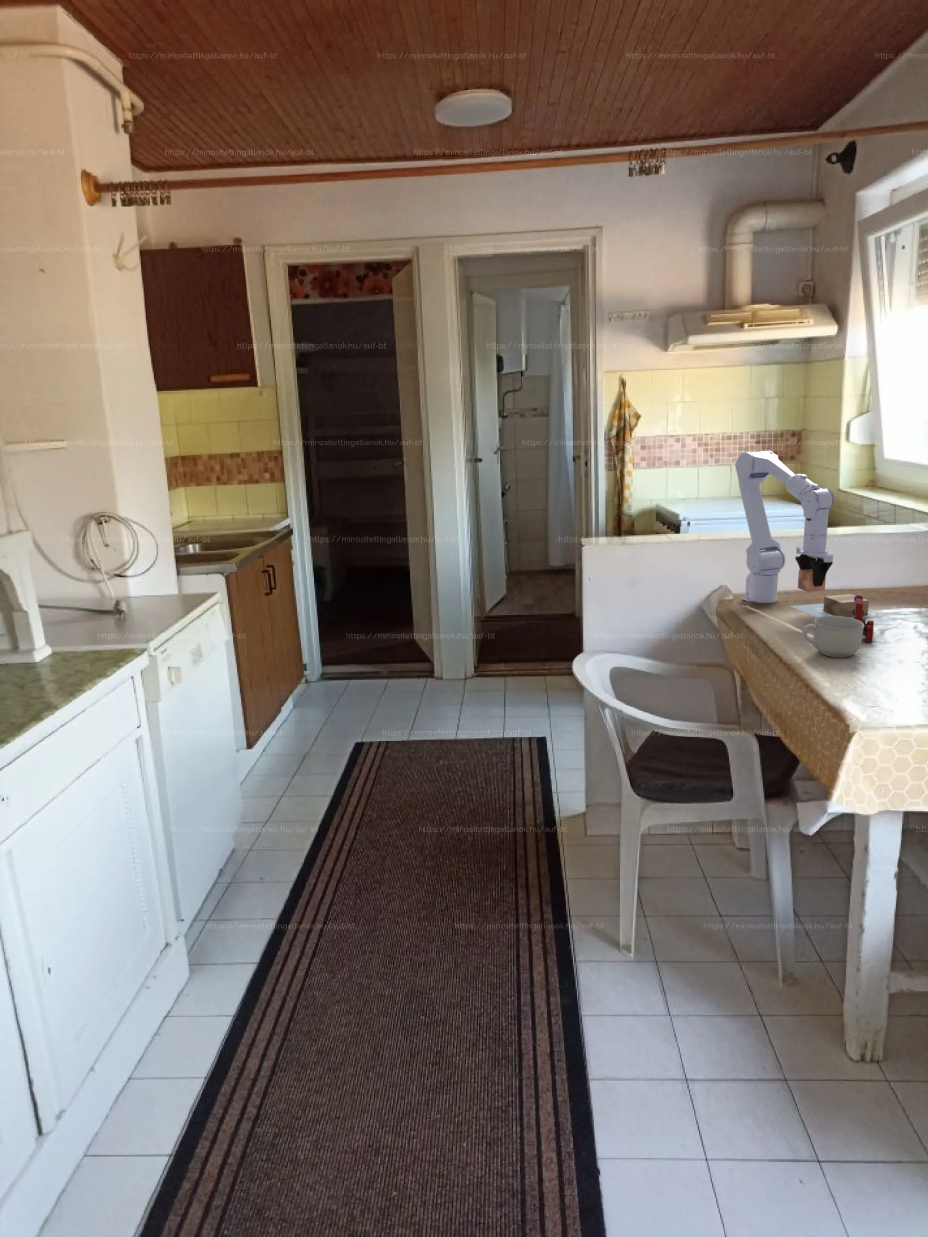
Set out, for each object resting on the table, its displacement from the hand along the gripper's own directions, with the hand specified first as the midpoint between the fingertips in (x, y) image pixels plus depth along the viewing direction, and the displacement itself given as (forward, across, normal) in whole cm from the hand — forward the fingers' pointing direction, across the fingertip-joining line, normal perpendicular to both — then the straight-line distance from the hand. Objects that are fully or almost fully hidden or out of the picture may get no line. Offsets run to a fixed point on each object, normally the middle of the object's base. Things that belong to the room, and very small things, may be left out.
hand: (812, 583), depth 229 cm
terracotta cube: (+2, 0, 0) cm, 2 cm away
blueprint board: (+9, 0, +7) cm, 11 cm away
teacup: (+9, +33, -15) cm, 37 cm away
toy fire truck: (+9, +23, -1) cm, 24 cm away
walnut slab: (+8, +2, +9) cm, 12 cm away
